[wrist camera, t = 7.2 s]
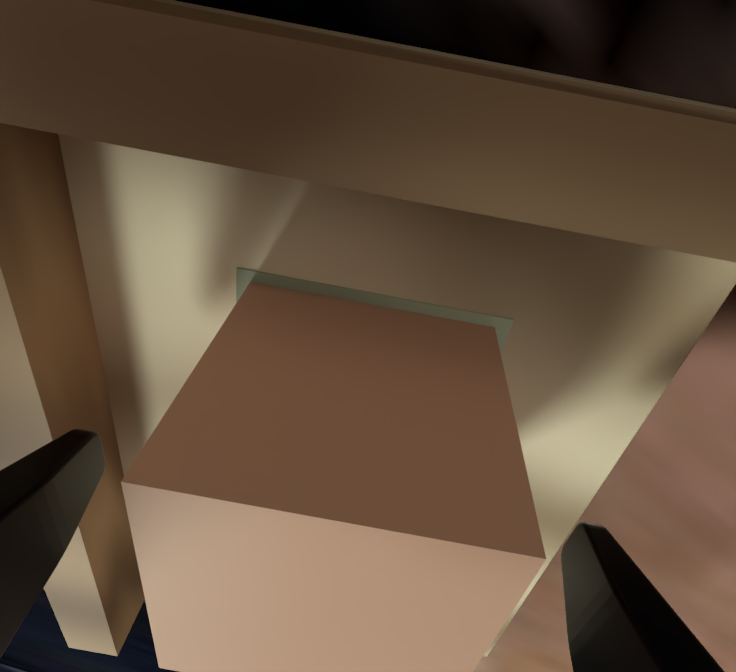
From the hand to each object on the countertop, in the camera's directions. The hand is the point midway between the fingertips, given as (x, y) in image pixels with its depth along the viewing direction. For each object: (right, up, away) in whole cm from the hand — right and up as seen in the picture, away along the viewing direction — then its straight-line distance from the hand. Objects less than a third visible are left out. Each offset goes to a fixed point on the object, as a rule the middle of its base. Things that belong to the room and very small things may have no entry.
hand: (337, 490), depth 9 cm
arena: (-1, 0, +4) cm, 4 cm away
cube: (0, +1, +2) cm, 3 cm away
